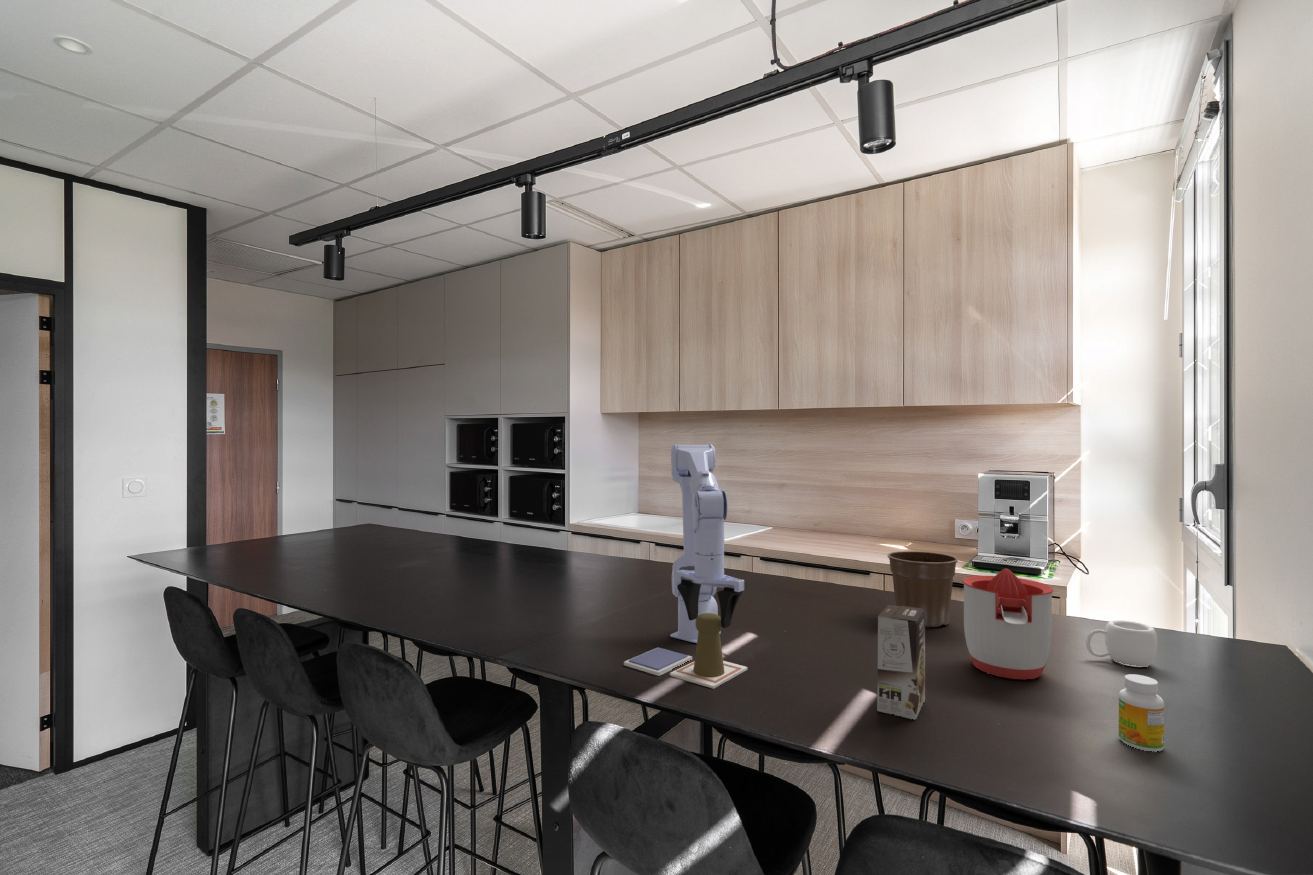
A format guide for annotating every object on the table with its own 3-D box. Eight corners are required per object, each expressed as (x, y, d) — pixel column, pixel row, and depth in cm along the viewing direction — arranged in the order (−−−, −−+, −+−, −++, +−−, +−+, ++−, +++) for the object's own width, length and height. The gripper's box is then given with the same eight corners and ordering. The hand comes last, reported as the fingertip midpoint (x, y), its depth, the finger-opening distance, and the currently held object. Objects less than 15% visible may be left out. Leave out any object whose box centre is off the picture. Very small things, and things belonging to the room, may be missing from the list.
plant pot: (881, 610, 165) (881, 549, 165) (945, 612, 163) (945, 551, 163) (895, 629, 149) (896, 561, 149) (967, 632, 147) (967, 563, 147)
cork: (722, 678, 117) (723, 619, 117) (691, 675, 118) (691, 617, 118) (726, 666, 123) (726, 610, 123) (695, 664, 124) (695, 609, 124)
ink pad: (658, 650, 134) (658, 645, 134) (692, 659, 128) (692, 655, 128) (623, 665, 125) (623, 660, 125) (658, 675, 120) (658, 670, 120)
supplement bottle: (1109, 736, 96) (1109, 672, 96) (1142, 734, 96) (1142, 671, 96) (1139, 753, 90) (1139, 686, 90) (1173, 752, 91) (1174, 685, 91)
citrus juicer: (968, 682, 117) (968, 575, 117) (958, 652, 133) (958, 558, 133) (1065, 694, 111) (1066, 582, 111) (1042, 661, 127) (1042, 563, 127)
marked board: (705, 658, 129) (705, 655, 129) (747, 669, 123) (747, 666, 123) (669, 675, 120) (669, 672, 120) (713, 688, 114) (713, 685, 114)
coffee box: (917, 721, 101) (917, 621, 101) (875, 711, 104) (876, 615, 104) (926, 700, 108) (926, 607, 108) (887, 692, 112) (887, 602, 112)
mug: (1146, 659, 129) (1146, 621, 129) (1165, 673, 121) (1165, 633, 121) (1079, 652, 133) (1079, 615, 133) (1093, 666, 125) (1093, 627, 125)
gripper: (667, 551, 123) (667, 620, 123) (730, 560, 114) (730, 635, 114) (688, 546, 128) (688, 612, 128) (749, 554, 119) (749, 626, 119)
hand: (709, 622), depth 121 cm, fingers open, 7 cm apart
